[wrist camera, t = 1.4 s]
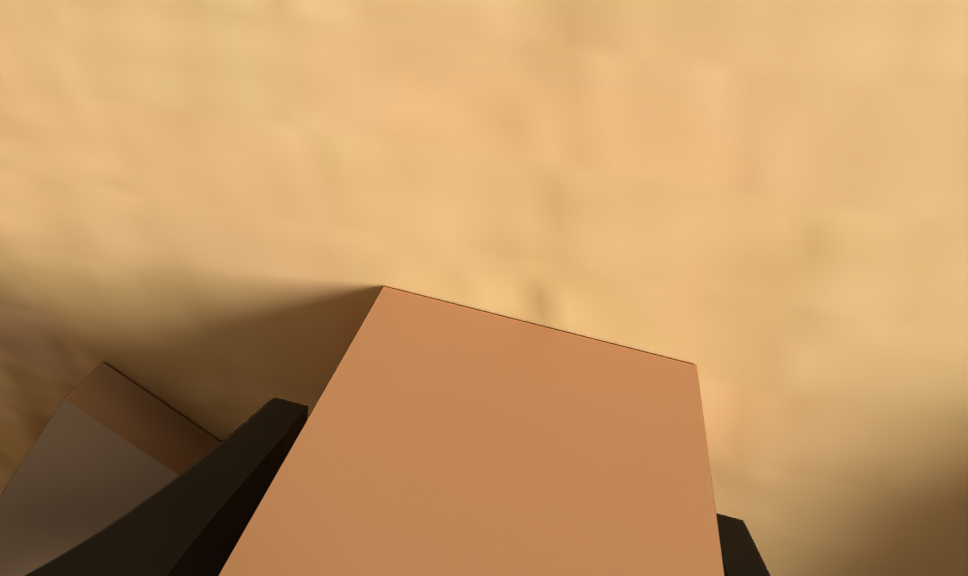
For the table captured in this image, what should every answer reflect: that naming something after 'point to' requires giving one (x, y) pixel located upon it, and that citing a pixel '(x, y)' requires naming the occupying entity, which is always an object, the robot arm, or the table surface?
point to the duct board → (92, 468)
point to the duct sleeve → (490, 458)
